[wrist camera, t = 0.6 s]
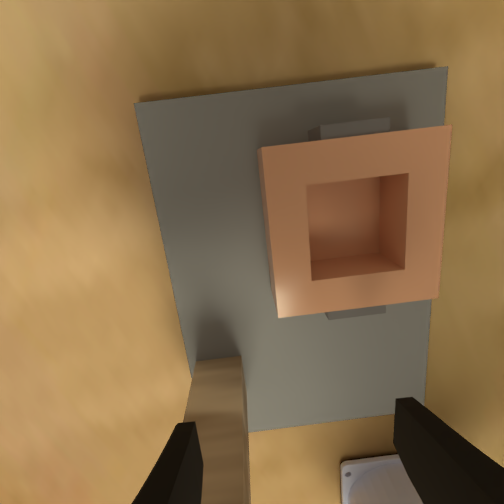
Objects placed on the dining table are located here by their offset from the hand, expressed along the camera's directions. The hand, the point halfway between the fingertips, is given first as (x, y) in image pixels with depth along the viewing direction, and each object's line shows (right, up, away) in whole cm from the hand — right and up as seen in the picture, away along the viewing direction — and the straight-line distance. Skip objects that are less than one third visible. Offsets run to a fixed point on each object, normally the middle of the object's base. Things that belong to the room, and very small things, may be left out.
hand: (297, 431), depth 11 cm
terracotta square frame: (+3, +8, +6) cm, 11 cm away
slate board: (+2, +5, +9) cm, 10 cm away
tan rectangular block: (-4, -2, +9) cm, 10 cm away
